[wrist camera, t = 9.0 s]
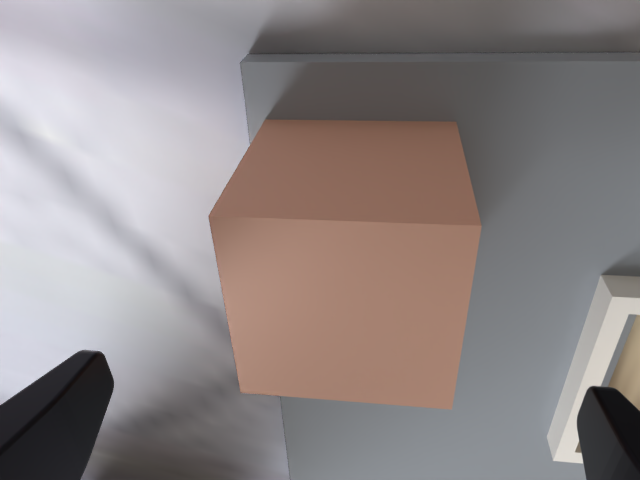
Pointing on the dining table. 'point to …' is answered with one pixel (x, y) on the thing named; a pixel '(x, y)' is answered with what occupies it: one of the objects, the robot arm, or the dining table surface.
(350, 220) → the terracotta block
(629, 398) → the maple block
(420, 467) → the building board
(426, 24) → the dining table surface
